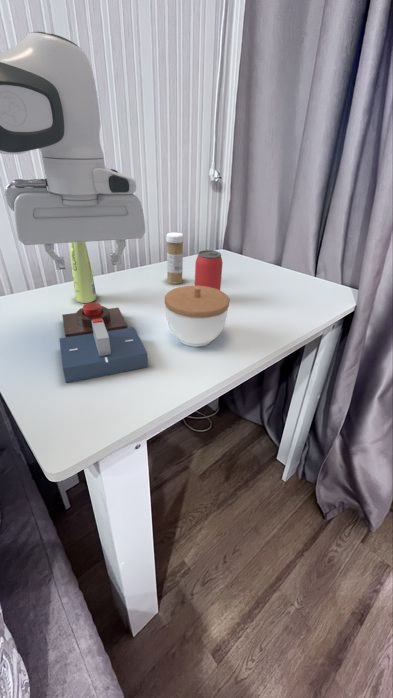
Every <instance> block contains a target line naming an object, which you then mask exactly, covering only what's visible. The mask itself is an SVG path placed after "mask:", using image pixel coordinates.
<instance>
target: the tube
mask: <svg viewBox="0 0 393 698" xmlns="http://www.w3.org/2000/svg"><path fill="white" fill-rule="evenodd" d="M69 251H70V252H69V253H70V264H71V273H72V281H73V288H74V289H73V290H74V295H75V300H76V302H77V303H81V304H87V303H94V301H96V300H97V299H98V298H97V292H96V291H97V290H96V287H95V286H96V285H95V281H94V274H93V270H92V267H91V266H92V265H91V261H90V256H89V254H88V249H87V245H86V242H73V243H69Z"/></svg>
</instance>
